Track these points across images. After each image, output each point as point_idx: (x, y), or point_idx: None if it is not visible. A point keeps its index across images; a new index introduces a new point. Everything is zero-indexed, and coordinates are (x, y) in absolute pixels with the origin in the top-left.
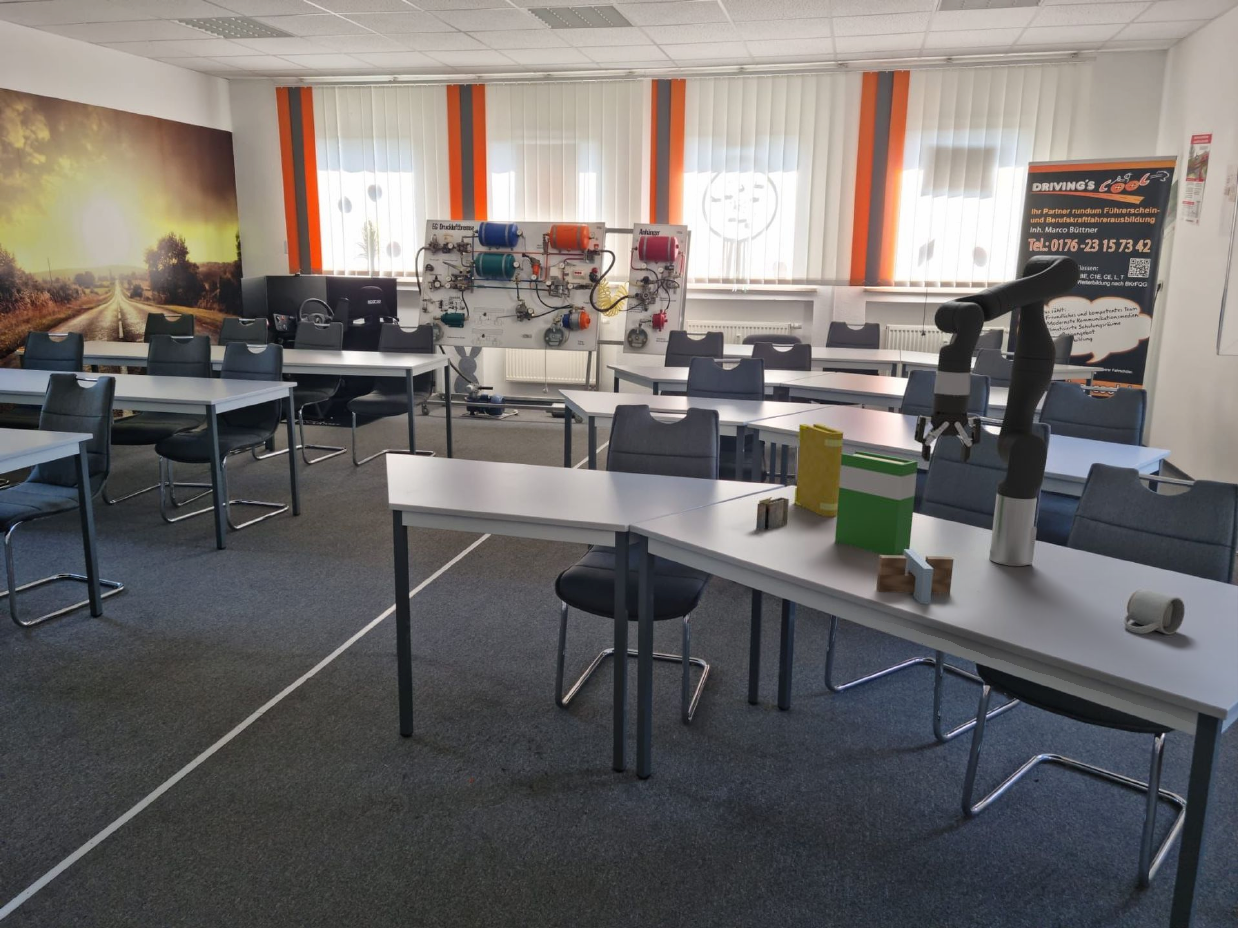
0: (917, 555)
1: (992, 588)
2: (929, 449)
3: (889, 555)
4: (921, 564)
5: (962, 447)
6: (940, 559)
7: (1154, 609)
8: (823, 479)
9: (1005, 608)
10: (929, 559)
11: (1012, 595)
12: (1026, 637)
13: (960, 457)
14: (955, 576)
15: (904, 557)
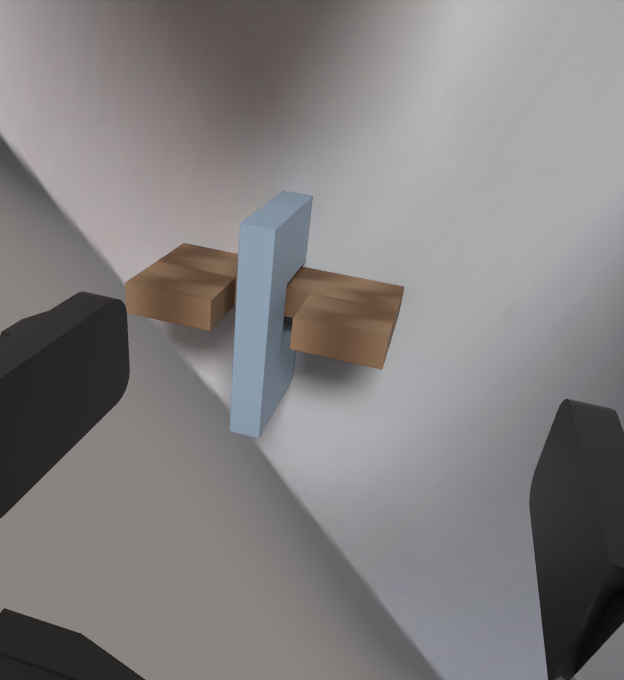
0: (263, 306)
1: (589, 291)
2: (20, 477)
3: (159, 292)
4: (237, 396)
5: (586, 566)
6: (332, 358)
7: None
8: None
9: (496, 443)
10: (292, 348)
11: (609, 361)
12: (419, 580)
13: (570, 416)
14: (534, 146)
15: (206, 321)
